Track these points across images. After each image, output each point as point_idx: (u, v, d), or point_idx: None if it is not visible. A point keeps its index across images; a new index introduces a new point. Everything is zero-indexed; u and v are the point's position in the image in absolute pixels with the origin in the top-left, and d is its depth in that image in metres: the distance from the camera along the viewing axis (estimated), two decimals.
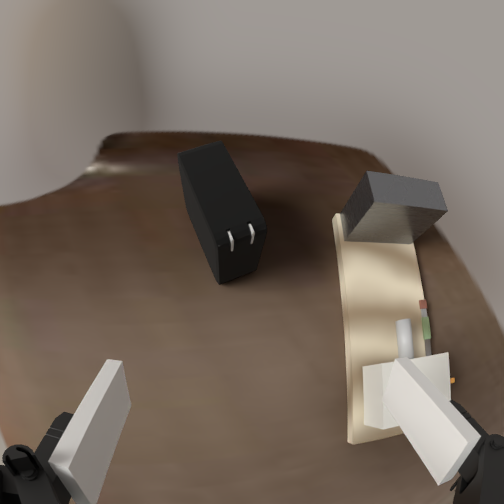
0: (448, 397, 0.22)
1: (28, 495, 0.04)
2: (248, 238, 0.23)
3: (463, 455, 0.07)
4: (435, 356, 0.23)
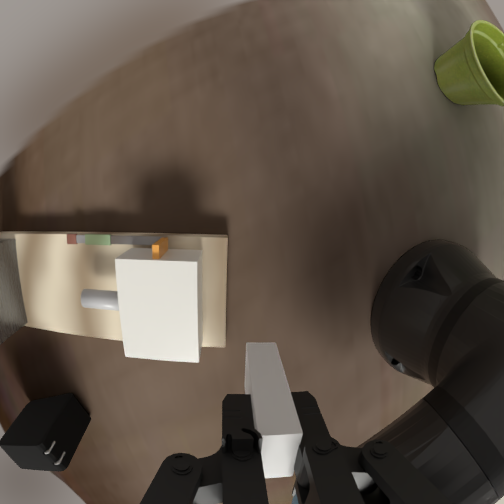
0: (176, 265, 0.20)
1: (234, 474, 0.07)
2: (53, 450, 0.20)
3: (286, 449, 0.09)
4: (118, 283, 0.20)
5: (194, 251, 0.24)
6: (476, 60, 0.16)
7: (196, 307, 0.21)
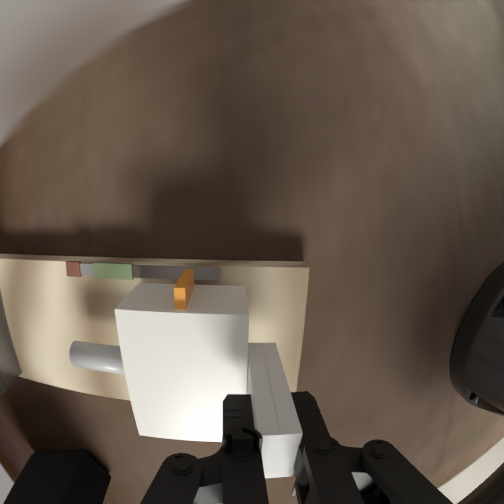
0: (215, 320, 0.13)
1: (234, 474, 0.07)
2: None
3: (286, 450, 0.09)
4: (122, 344, 0.13)
5: (234, 289, 0.16)
6: None
7: (245, 378, 0.13)
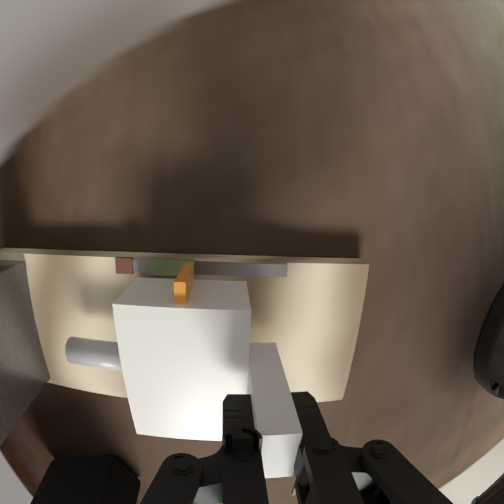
0: (216, 316, 0.12)
1: (234, 474, 0.07)
2: None
3: (286, 450, 0.09)
4: (120, 340, 0.12)
5: (235, 284, 0.16)
6: None
7: (246, 375, 0.13)
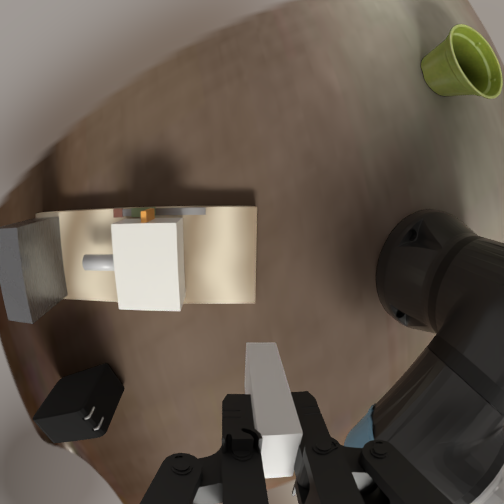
0: (160, 226, 0.25)
1: (234, 474, 0.07)
2: (93, 415, 0.25)
3: (286, 449, 0.09)
4: (113, 244, 0.25)
5: (176, 218, 0.28)
6: (454, 59, 0.21)
7: (176, 261, 0.26)
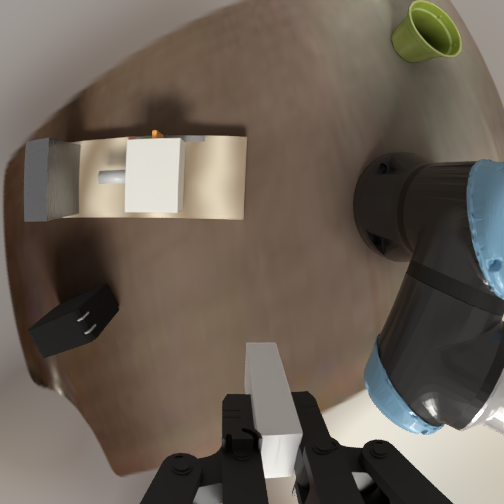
0: (167, 141, 0.30)
1: (234, 474, 0.07)
2: (86, 319, 0.30)
3: (286, 450, 0.09)
4: (127, 155, 0.30)
5: None
6: (412, 25, 0.25)
7: (178, 168, 0.30)
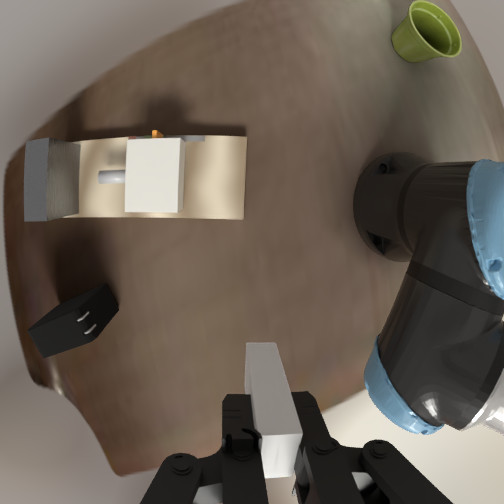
0: (167, 140, 0.30)
1: (234, 474, 0.07)
2: (86, 319, 0.30)
3: (286, 450, 0.09)
4: (127, 155, 0.30)
5: None
6: (412, 25, 0.25)
7: (178, 168, 0.30)
